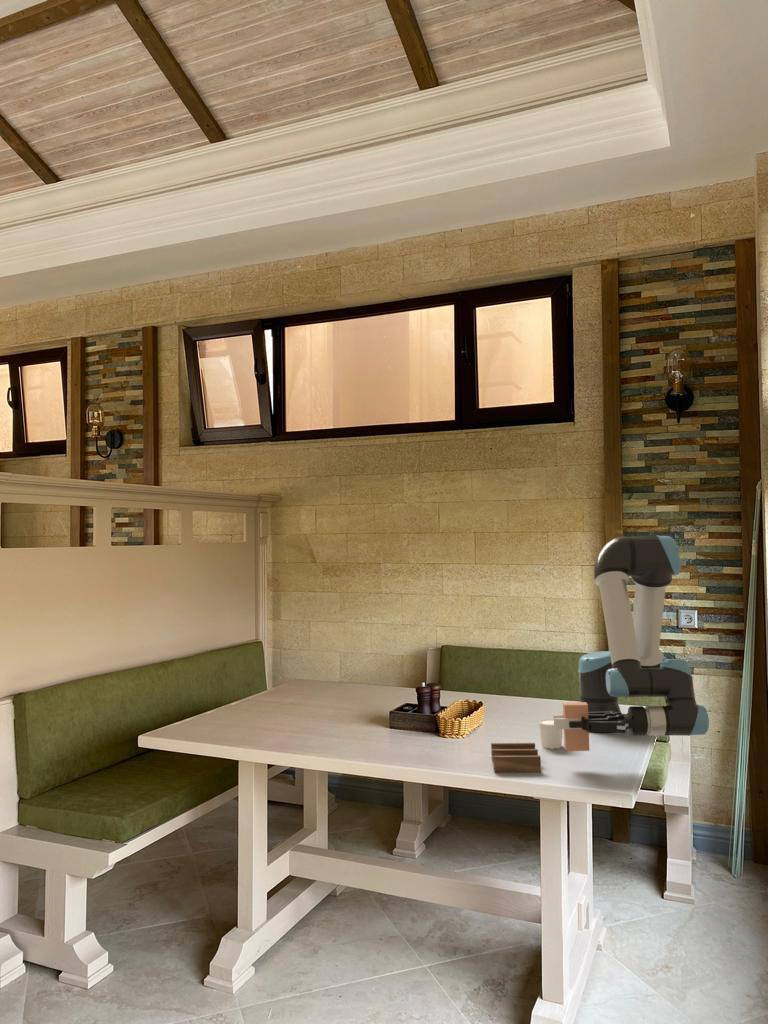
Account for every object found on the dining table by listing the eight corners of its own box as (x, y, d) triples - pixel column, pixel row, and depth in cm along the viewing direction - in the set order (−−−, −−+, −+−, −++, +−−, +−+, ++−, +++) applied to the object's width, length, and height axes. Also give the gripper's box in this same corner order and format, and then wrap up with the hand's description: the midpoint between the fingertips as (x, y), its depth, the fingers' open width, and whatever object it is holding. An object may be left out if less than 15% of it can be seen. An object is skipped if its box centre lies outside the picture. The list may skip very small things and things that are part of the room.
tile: (564, 747, 208) (562, 702, 209) (587, 747, 208) (585, 702, 208) (566, 751, 205) (564, 705, 206) (589, 750, 205) (587, 704, 205)
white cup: (564, 749, 224) (563, 725, 224) (539, 749, 225) (539, 724, 226) (563, 743, 231) (562, 719, 231) (539, 742, 232) (538, 719, 232)
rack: (491, 757, 218) (491, 743, 219) (535, 757, 218) (534, 742, 218) (494, 772, 205) (494, 757, 205) (540, 772, 204) (540, 756, 204)
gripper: (654, 744, 197) (559, 744, 199) (638, 727, 213) (551, 727, 215) (653, 714, 197) (558, 715, 199) (637, 699, 213) (550, 700, 215)
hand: (555, 721), depth 207 cm, fingers closed on tile, 3 cm apart
